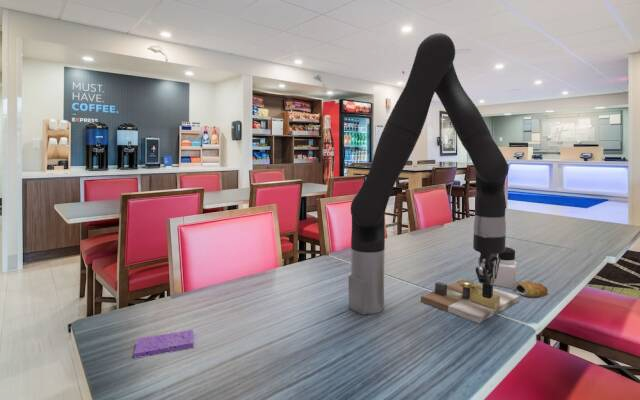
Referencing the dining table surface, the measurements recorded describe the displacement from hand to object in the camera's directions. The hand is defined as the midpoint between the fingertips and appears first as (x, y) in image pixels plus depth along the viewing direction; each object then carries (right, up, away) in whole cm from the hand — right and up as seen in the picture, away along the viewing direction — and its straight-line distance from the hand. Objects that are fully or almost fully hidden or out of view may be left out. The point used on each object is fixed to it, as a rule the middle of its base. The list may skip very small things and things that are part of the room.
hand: (487, 297), depth 98 cm
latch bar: (0, -3, +7) cm, 7 cm away
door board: (0, -4, +11) cm, 12 cm away
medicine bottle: (+17, -2, +25) cm, 30 cm away
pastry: (+21, -4, +17) cm, 27 cm away
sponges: (-80, -9, -11) cm, 81 cm away
